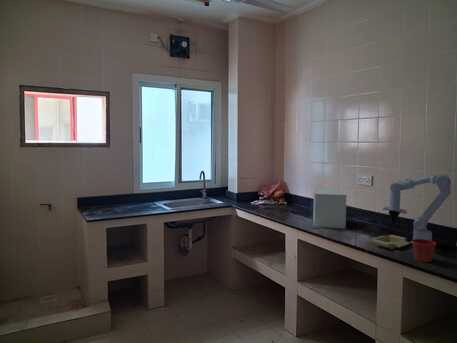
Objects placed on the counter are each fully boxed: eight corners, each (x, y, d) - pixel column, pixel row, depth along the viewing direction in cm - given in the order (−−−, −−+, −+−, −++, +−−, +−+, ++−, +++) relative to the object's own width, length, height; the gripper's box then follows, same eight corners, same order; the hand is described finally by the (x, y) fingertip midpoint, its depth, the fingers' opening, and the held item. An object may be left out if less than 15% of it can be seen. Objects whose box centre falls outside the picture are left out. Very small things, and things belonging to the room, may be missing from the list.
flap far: (380, 236, 213) (380, 236, 213) (369, 239, 206) (369, 240, 206) (386, 235, 210) (386, 236, 210) (375, 238, 203) (375, 239, 203)
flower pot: (409, 255, 184) (409, 237, 183) (431, 257, 181) (432, 239, 180) (413, 261, 174) (414, 243, 173) (437, 264, 171) (439, 245, 170)
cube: (313, 219, 270) (313, 189, 268) (341, 221, 265) (342, 190, 263) (314, 227, 245) (315, 193, 243) (345, 229, 241) (346, 195, 239)
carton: (407, 244, 204) (408, 238, 204) (387, 250, 192) (388, 244, 191) (390, 239, 213) (390, 234, 213) (370, 245, 201) (370, 240, 200)
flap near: (403, 239, 202) (403, 240, 202) (392, 243, 194) (392, 243, 194) (409, 243, 199) (409, 243, 199) (398, 247, 191) (398, 247, 192)
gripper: (380, 200, 216) (379, 221, 218) (403, 204, 205) (401, 226, 206) (386, 199, 220) (385, 219, 222) (409, 203, 209) (407, 224, 210)
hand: (393, 222), depth 214 cm, fingers closed
